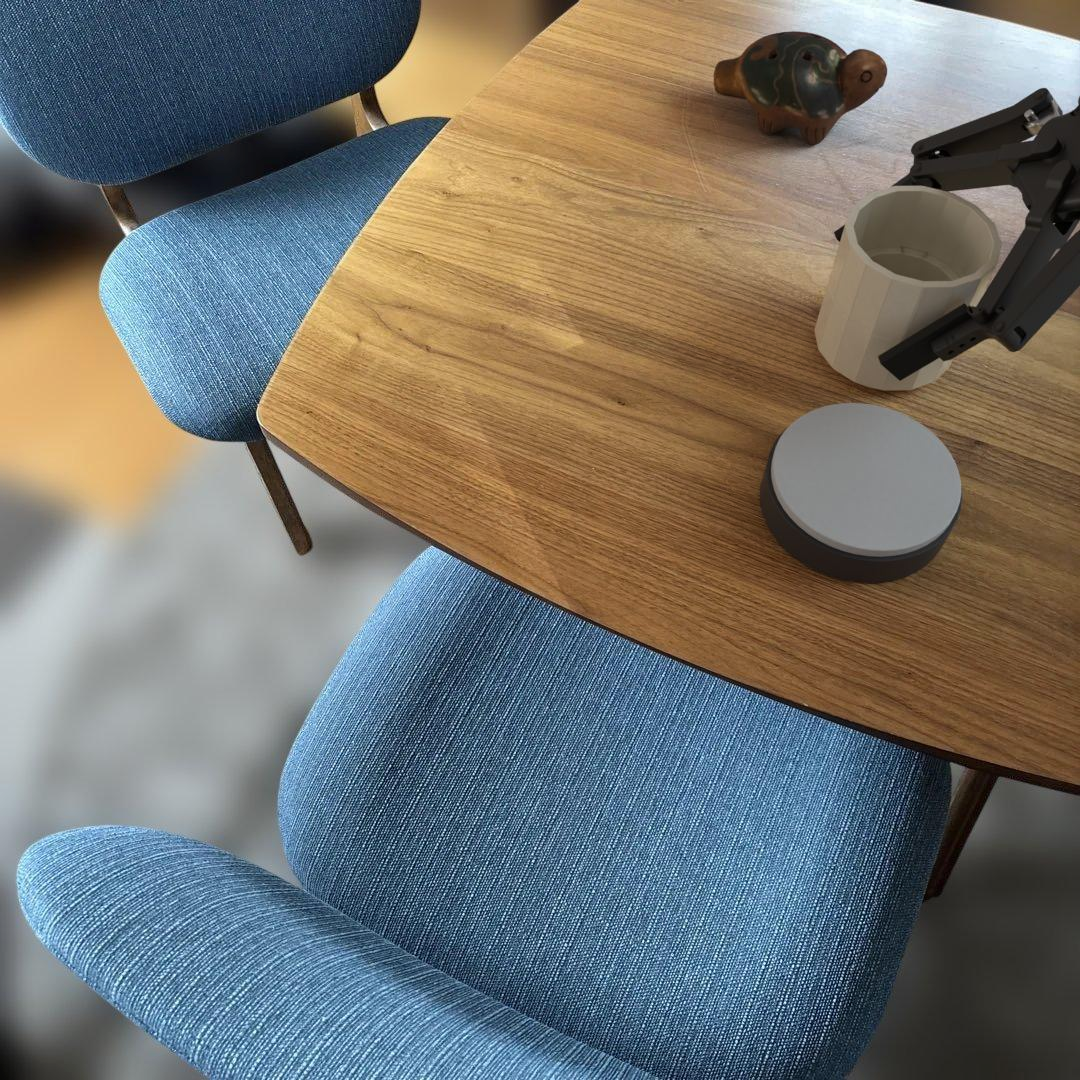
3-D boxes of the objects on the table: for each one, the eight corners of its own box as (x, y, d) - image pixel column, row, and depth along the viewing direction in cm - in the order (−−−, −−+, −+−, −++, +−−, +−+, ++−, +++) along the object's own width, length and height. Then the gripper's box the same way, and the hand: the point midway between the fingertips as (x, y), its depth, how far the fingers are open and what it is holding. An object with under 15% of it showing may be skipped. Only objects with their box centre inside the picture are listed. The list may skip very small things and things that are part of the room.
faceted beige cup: (977, 373, 78) (1033, 261, 69) (859, 414, 76) (901, 304, 67) (900, 285, 84) (942, 170, 75) (788, 321, 82) (818, 208, 73)
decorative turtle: (868, 164, 92) (886, 84, 86) (701, 147, 96) (704, 68, 89) (880, 97, 97) (898, 16, 90) (720, 82, 100) (725, 3, 94)
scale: (987, 545, 70) (1007, 514, 67) (821, 610, 67) (833, 581, 64) (881, 410, 77) (894, 377, 74) (726, 465, 74) (733, 432, 71)
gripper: (1278, 272, 59) (938, 453, 72) (1115, 34, 73) (851, 221, 85) (1240, 201, 55) (883, 408, 67) (1073, -39, 68) (801, 170, 80)
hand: (865, 304), depth 76 cm, fingers open, 12 cm apart
